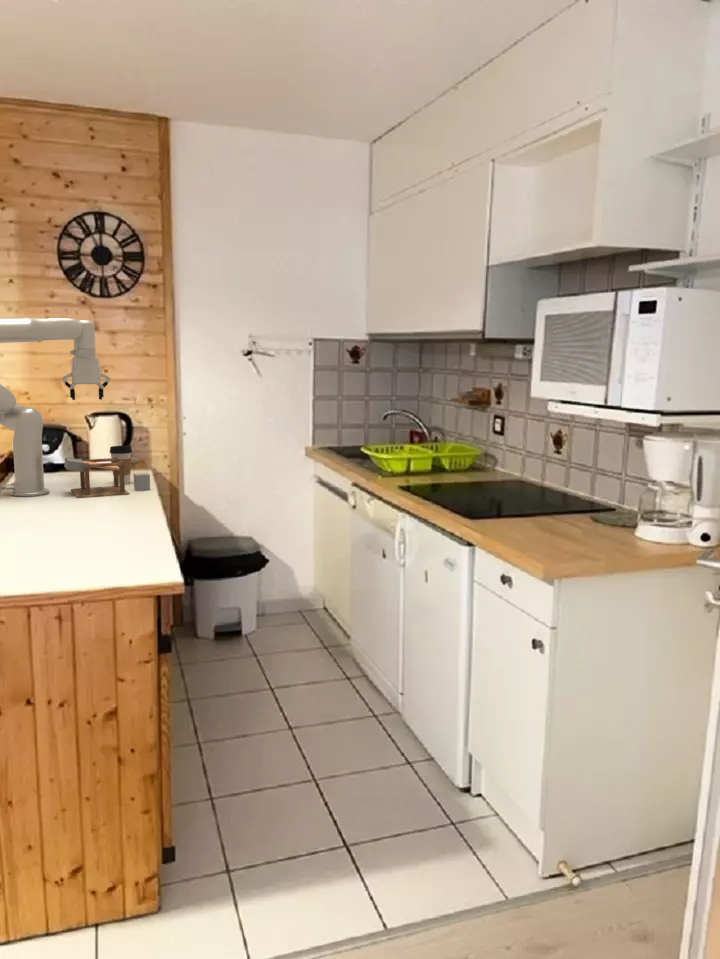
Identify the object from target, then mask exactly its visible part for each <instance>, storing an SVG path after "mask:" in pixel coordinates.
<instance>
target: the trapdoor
mask: <svg viewBox="0 0 720 959" xmlns="http://www.w3.org/2000/svg"><path fill="white" fill-rule="evenodd" d="M84 463H89V464H103V463H104V462H89V461H82V460H81V459H79V458H74V457H73V458H70V457H65V458H64V464H63V466H64V468H65V469H66V470H67V471H74V472H80V471H81V472H84V473H85V471H84ZM93 468H95V469H102V470H103V469H105V470H112V471H113V470H119V467H118V466H106V467H93Z"/></svg>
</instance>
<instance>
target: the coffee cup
mask: <svg viewBox="0 0 720 959" xmlns="http://www.w3.org/2000/svg"><path fill="white" fill-rule="evenodd" d="M109 453H110V457H111V458H113V457H117V461H118V463H119V461H124V483H125V485H129V484H131V469H132V453H133V450H132V445H130V444H127V445H126V444H125V445H112V446H110V448H109ZM110 463H113V461H110ZM118 467H119V466H118ZM112 476H113V477H114V473H113V472H112ZM118 486H120V474H119V470H118Z"/></svg>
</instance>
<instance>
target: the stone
mask: <svg viewBox="0 0 720 959" xmlns="http://www.w3.org/2000/svg"><path fill="white" fill-rule="evenodd" d="M150 476H151V474H149V473H148V472H139V473H138V472H136V473H133V490H135V491H136V492H144V491H151V479H150Z"/></svg>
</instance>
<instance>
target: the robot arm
mask: <svg viewBox="0 0 720 959" xmlns="http://www.w3.org/2000/svg"><path fill="white" fill-rule="evenodd" d="M64 340H65V341H66V340H73V349H72V350H69V352H70V353H69V354H70V355H73V357H72V360H71V371H70V373H67V374H65V375H64V376H62V377H61V381H62V382H63V384H64V386H66V387H67V388H68V389H69V396H70V397H69V398H70V399H71V400H72V401H75V400H76V390H75V388H76V386H77V385H97V387H98V400H101V401H102V400H103V398H104V389H105V387H107V385H108V384H109V383H110V380H111V377H110V376H108V375H106V374H104V373H102V372H101V365H100V359H99V357H97V352H96V332H95V323H94V321H92V320H90V319H89V320H88V319H75V318H72V317H70V318H69V317H68V318H66V317H65V318H63V317H62V318H61V317H60V318H55V317H53V318H39V317H0V344H4V343H5V344H7V343H8V344H10V343H12V344H13V343H34V342H44V341H64ZM69 378H71V383H69V382H68V380H67V379H69ZM102 379H105V380H104V381H103V383H102ZM0 425H1V426H3V427H4V428H6V429H8V430H10V431H13V437H12V449H13V450H12V451H13V452H12V453H13V464H14V467H13V468H14V480H13V482H11V483H9V484H8V483H3V484H1V490H3V491H4V490H6V491H8V490H9V491H10V490H11V491H10V492H11V493H10V494H11V495H12V496H14V497H37V496H43V495H47V494H49V493H50V489H49V488H48V487H45V474H44V458H43V442H42V441H43V439H42V438H43V428H44V419H43V416H42V414H41V412H40V411H39V410H38V409H37V408H35V407H32V406H29V405H28V406H27V405H20V404H19V403H17V399H16V396H15V394H14V393H13V392H12V391H11V390H9V389H8V388H6V387H5V386H4V385H2V384H1V383H0Z"/></svg>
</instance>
